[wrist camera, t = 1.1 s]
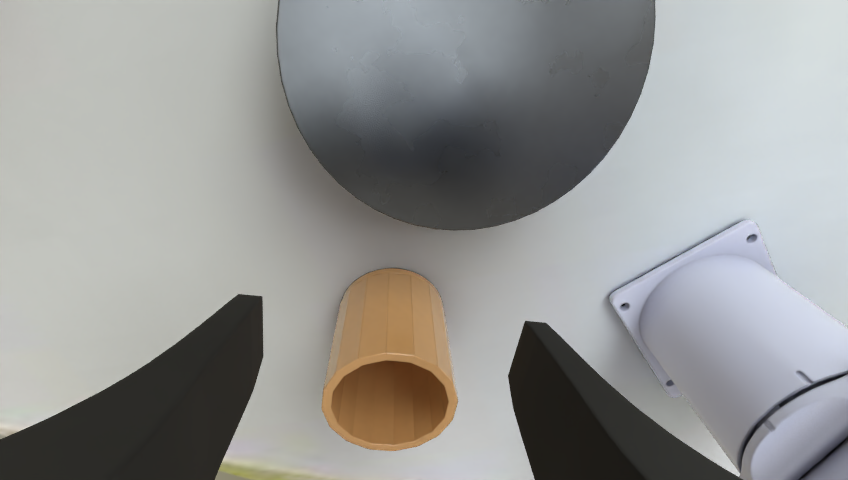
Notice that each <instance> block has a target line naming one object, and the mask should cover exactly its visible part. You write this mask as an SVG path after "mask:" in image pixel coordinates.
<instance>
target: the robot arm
mask: <svg viewBox="0 0 848 480" xmlns="http://www.w3.org/2000/svg"><path fill="white" fill-rule="evenodd" d="M751 234H752V235H751ZM750 235H751V237H750V238H748V239H747V237H748V236H750ZM609 300H610V303H611V304H612V306H613V307H614V309H615V311H616V312H617V314H618V315H619V317H620V319H621V320H622V322H623V324H624V325H625V327H626V328H627V330H628V332H629V333H630V335H631V336H632V338H633V340H634V341H635V343H636V345H637V346H638V348H639V349H640V351H641V353H642V354H643V356H644V357H645V359H646V361H647V362H648V364H649V365H650V367H651V369H652V370H653V372H654V374H655V375H656V377H657V378H658V380H659V382H660V383H661V385H662V386H663V388H664V390H665V391H666V393H667V394H668V396H670V397H672V398H676V397H679V396H681V395H683V396H684V397H685V399H686V400H687V402H688V403H689V404H690V406H691V407H692V408H693V410H694V411H695V413H696V414H697V415H698V417H699V418H700V419H701V421H702V422H703V423H704V425H705V426H706V428H707V429H708V430H709V432H710V433H711V434H712V436H713V437H714V439H715V440H716V441H717V443H718V444H719V445H720V447H721V448H722V449H723V451H724V452H725V454H726V455H727V456H728V458H729V459H730V460H731V462H732V463H733V465H734V466H735V467H736V469H737V470H738V471H739V473H740V476H739V477H738V476H736V475H734V474H732V473H731V472H729V471H727V470H725V469H724V468H722V467H721V466H719V465H717V464H716V463H714V462H712V461H711V460H709V459H708V458H706V457H704V456H703V455H701V454H700V453H698V452H697V451H695V450H694V449H692V448H691V447H689V446H688V445H686V444H685V443H683V442H682V441H680V440H679V439H678V438H676V437H675V436H673V435H672V434H670V433H669V432H668V431H666V430H665V429H664V428H662V427H661V426H660V425H658V424H657V423H656V422H654V421H653V420H652V419H650V418H649V417H648V416H647V415H645V414H644V413H643V412H641V411H640V410H639V409H638V408H636V407H635V406H634V405H633V404H631V403H630V402H629V401H628V400H627V399H626V398H625V397H623V396H622V395H621V394H620V393H619V392H618V391H616V390H615V389H614V388H613V387H612V386H611V385H610V384H609V383H608V382H606V381H605V380H604V379H603V378H602V377H601V376H600V375H599V374H598V373H597V372H596V371H595V370H594V369H593V368H592V367H591V366H589V365H588V364H587V363H586V362H585V361H584V360H583V359H582V358H581V357H580V356H579V355H578V354H577V353H576V352H575V351H574V350H573V349H572V348H571V347H570V346H569V345H568V344H567V343H566V342H565V341H564V340H563V339H562V338H561V337H560V336H559V335H558V334H557V333H556V332H555V331H554V330H553V329H552V328H551V327H550V326H549V325H548V324H547V323H541V322H530V321H525V323H524V326H523V330H522V333H521V336H520V339H519V342H518V346H517V349H516V352H515V355H514V359H513V362H512V365H511V368H510V372H509V375H508V378H509V384H510V391H511V397H512V403H513V408H514V412H515V416H516V419H517V423H518V426H519V429H520V433H521V436H522V439H523V443H524V446H525V449H526V452H527V456H528V459H529V462H530V465H531V469H532V472H533V475H534V478H535V480H848V327H847V326H845V325H844V324H842V323H841V322H840V321H838V320H837V319H835V318H834V317H833V316H831V315H830V314H828V313H827V312H826V311H824V310H823V309H821V308H820V307H819V306H817V305H816V304H814V303H813V302H812V301H810V300H809V299H807V298H806V297H805V296H803V295H802V294H800V293H799V292H798V291H796V290H795V289H793V288H792V287H791V286H789V285H788V284H786V283H785V282H784V281H782V280H781V279H779V278H778V277H777V274H776V271H775V269H774V266H773V264H772V261H771V258H770V256H769V253H768V250H767V248H766V245H765V243H764V240H763V237H762V235H761V232H760V229H759V227H758V225H757V224H756V223H755V222H753V221H751V220H744V221H741V222H739V223H738V224H736V225H734V226H732V227H730V228H728V229H727V230H725V231H723V232H721V233H719V234H718V235H716V236H714V237H712V238H710V239H708V240H707V241H705V242H703V243H701V244H699V245H698V246H696V247H694V248H692V249H690V250H689V251H687V252H685V253H683V254H681V255H679V256H678V257H676V258H674V259H672V260H670V261H669V262H667V263H665V264H663V265H661V266H659V267H658V268H656V269H654V270H652V271H650V272H649V273H647V274H645V275H643V276H641V277H640V278H638V279H636V280H634V281H632V282H630V283H629V284H627V285H625V286H623V287H621V288H620V289H618V290H616V291H614V292H613V293H612V294H611V295H610V298H609ZM624 303H626V304H625V305H624V306H622V307H620V306H621V305H622V304H624ZM262 359H263V307H262V296H252V295H242V294H238V295H237V296H236V297H234V298H233V299H232V300H230V301H229V302H228V303H227V304H225V305H224V306H223V307H222V308H221V309H219V310H218V311H217V312H216V313H215V314H213V315H212V316H211V317H210V318H208V319H207V320H206V321H205V322H203V323H202V324H201V325H200V326H198V327H197V328H196V329H195V330H193V331H192V332H191V333H189V334H188V335H187V336H185V337H184V338H183V339H182V340H180V341H179V342H178V343H176V344H175V345H174V346H172V347H171V348H169V349H168V350H166V351H165V352H164V353H162V354H161V355H159V356H158V357H156V358H155V359H154V360H152V361H151V362H149V363H148V364H146V365H145V366H143V367H142V368H140V369H138V370H137V371H135V372H134V373H132V374H130V375H129V376H127V377H125V378H124V379H122V380H120V381H119V382H117V383H115V384H113V385H112V386H110V387H108V388H107V389H105V390H103V391H101V392H99V393H97V394H95V395H93V396H92V397H90V398H88V399H86V400H84V401H82V402H80V403H78V404H76V405H74V406H72V407H70V408H68V409H66V410H64V411H62V412H60V413H58V414H56V415H54V416H52V417H50V418H48V419H46V420H44V421H41V422H39V423H37V424H35V425H33V426H30V427H28V428H26V429H24V430H21V431H19V432H17V433H14V434H12V435H10V436H7V437H5V438H3V439H0V480H215V477H216V475H217V472H218V470H219V467H220V465H221V463H222V461H223V458H224V456H225V454H226V451H227V449H228V447H229V445H230V442H231V440H232V438H233V436H234V433H235V431H236V429H237V427H238V424H239V422H240V420H241V417H242V415H243V413H244V411H245V408H246V406H247V404H248V401H249V399H250V397H251V394H252V392H253V389H254V386H255V383H256V379H257V376H258V373H259V369H260V366H261V362H262Z"/></svg>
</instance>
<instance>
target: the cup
mask: <svg viewBox="0 0 848 480" xmlns="http://www.w3.org/2000/svg"><path fill="white" fill-rule="evenodd" d="M457 403H458V397H457V390H456V384H455V377H454V371H453V364H452V357H451V351H450V344H449V338H448V331H447V324H446V318H445V313H444V309H443V303H442V299H441V296H440V294H439V293H438V291H437V289H436V288H435V287H434V286H433V285H432V284H431V283H430V282H429V281H428V280H427V279H425V278H424V277H422V276H421V275H419V274H417V273H414V272H411V271H408V270H404V269H396V268H387V269H380V270H376V271H372V272H370V273H367V274H365V275H363V276H361V277H360V278H358V279H357V280H356V281H354V282H353V283H352V284H351V285H350V286H349V288H348V289H347V290H346V292H345V294H344V295H343V298H342V301H341V303H340V307H339V312H338V317H337V322H336V327H335V332H334V338H333V343H332V348H331V353H330V358H329V363H328V368H327V373H326V378H325V384H324V389H323V398H322V411H323V413H324V415H325V418H326V420H327V422H328V424H329V426H330V427H331V428H332V429H333V430H334V431H335V432H336V433H338V434H339V435H340V436H341V437H342V438H344V439H345V440H346V441H348V442H351V443H353V444H356V445H359V446H361V447H364V448H367V449H372V450H386V451H397V450H402V449H407V448H412V447H417V446H420V445H422V444H423V443H425V442H427V441H429V440H431V439H433V438H435V437H437V436H438V435H440V433H441V432H442V431H443V430H444V429H445V428H446V427H447V426H448V425H449V424H450V422H451V421H452V420H453V417H454V414H455V410H456V407H457Z"/></svg>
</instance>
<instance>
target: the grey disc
mask: <svg viewBox="0 0 848 480" xmlns="http://www.w3.org/2000/svg"><path fill="white" fill-rule="evenodd" d="M654 30H655V0H278V11H277V22H276V39H277V57H278V63H279V70H280V76H281V82H282V85H283V89H284V92H285V96H286V99H287V102H288V106H289V108H290V111H291V113H292V115H293V118H294V120H295V122H296V125H297V127H298V129H299V131H300V133H301V134H302V136H303V138H304V140H305V141H306V143H307V145H308V147H309V148H310V150H311V151H312V153H313V154H314V155H315V157H316V158H317V159H318V161H319V162H320V163H321V165H322V166H323V167H324V168H325V169H326V171H327V172H328V173H329V174H330V175H331V176H332V177H333V178H334V179H335V180H336V181H337V182H338V183H339V184H340V185H341V186H342V187H344V188H345V189H346V190H347V191H349V192H350V193H351V194H352V195H354V196H355V197H356V198H357V199H359V200H361V201H362V202H364V203H365V204H367V205H369V206H370V207H372V208H373V209H375V210H377V211H379V212H381V213H384V214H386V215H388V216H390V217H392V218H394V219H397V220H400V221H403V222H406V223H410V224H413V225H417V226H422V227H427V228H432V229H443V230H475V229H481V228H487V227H493V226H498V225H501V224H505V223H508V222H512V221H515V220H518V219H520V218H523V217H525V216H527V215H530V214H532V213H535V212H537V211H538V210H540V209H542V208H544V207H546V206H548V205H549V204H551V203H553V202H555V201H556V200H557V199H559V198H560V197H562V196H563V195H565V194H566V193H567V192H569V191H570V190H572V189H573V188H574V187H575V186H576V185H577V184H579V183H580V182H581V181H582V180H583V179H584V178H585V177H586V176H588V175H589V174H590V173H591V171H592V170H593V169H594V168H595V167H596V166H597V165H598V164H599V163H600V162H601V161H602V159H603V158H604V157H605V156H606V155H607V153H608V152H609V150H610V149H611V148H612V146H613V145H614V144H615V142H616V141H617V140H618V138H619V136H620V135H621V133H622V131H623V129H624V128H625V126H626V124H627V123H628V121H629V119H630V117H631V115H632V113H633V111H634V108H635V106H636V104H637V102H638V99H639V97H640V95H641V92H642V89H643V85H644V82H645V79H646V76H647V73H648V69H649V64H650V59H651V54H652V49H653V44H654Z"/></svg>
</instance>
